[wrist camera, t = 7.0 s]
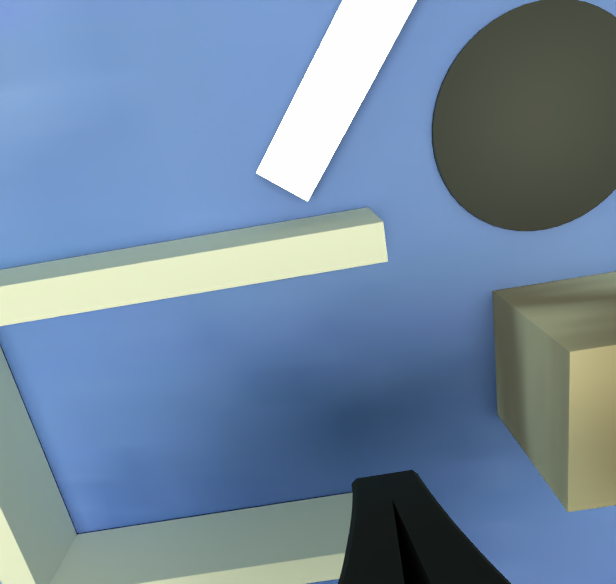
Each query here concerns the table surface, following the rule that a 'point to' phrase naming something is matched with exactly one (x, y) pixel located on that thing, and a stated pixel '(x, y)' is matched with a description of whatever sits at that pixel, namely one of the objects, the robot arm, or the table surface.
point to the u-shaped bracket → (193, 530)
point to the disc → (531, 116)
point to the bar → (332, 92)
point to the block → (561, 382)
